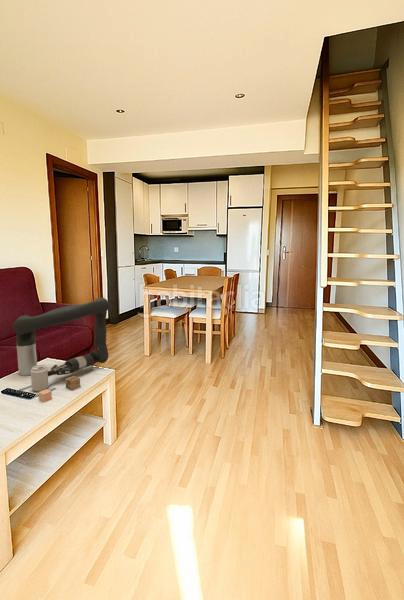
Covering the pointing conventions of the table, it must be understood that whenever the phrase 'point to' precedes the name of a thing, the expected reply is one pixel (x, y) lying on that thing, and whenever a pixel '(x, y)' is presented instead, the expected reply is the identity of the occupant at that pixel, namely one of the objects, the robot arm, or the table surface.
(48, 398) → the clay block
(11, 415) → the table surface
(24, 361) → the robot arm
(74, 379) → the walnut block
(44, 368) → the can
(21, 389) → the frame
